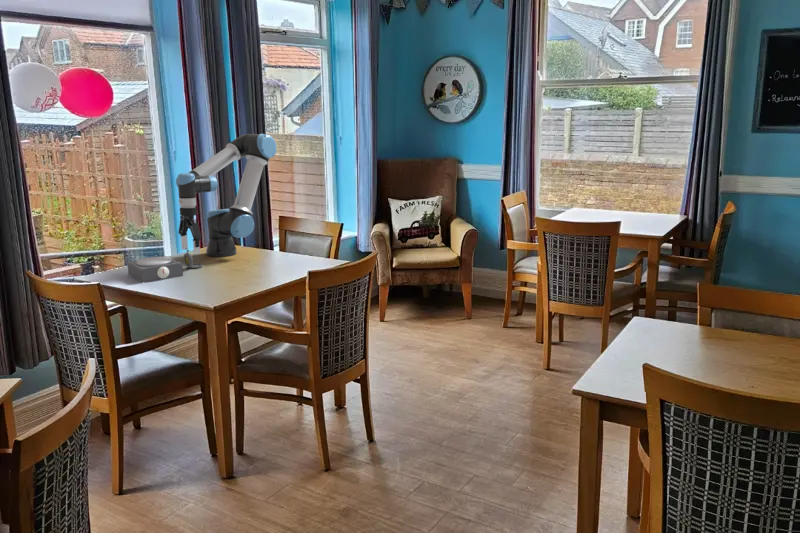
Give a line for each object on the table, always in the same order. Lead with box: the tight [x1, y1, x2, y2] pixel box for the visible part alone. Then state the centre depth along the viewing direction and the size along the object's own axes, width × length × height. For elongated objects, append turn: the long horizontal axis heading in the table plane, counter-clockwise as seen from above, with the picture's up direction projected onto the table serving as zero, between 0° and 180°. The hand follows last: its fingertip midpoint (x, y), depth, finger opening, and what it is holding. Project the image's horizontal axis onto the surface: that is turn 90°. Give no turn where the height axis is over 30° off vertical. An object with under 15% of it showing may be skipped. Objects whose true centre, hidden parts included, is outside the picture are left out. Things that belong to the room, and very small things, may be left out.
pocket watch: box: [183, 247, 203, 269], centre depth 320 cm, size 8×8×10 cm
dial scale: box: [127, 255, 184, 283], centre depth 305 cm, size 19×18×7 cm
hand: (190, 251), depth 319 cm, fingers open, 13 cm apart
